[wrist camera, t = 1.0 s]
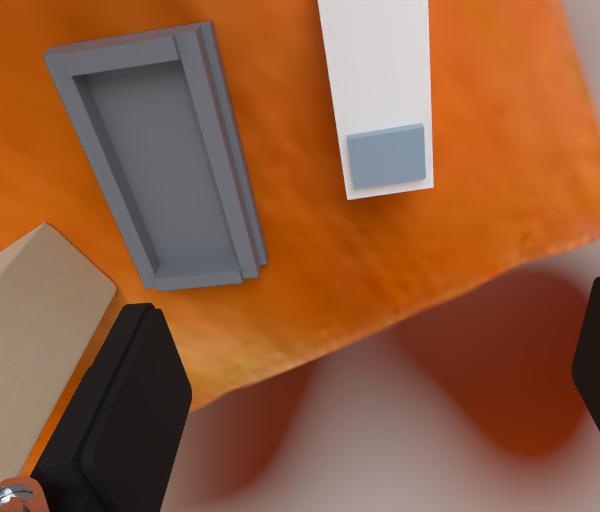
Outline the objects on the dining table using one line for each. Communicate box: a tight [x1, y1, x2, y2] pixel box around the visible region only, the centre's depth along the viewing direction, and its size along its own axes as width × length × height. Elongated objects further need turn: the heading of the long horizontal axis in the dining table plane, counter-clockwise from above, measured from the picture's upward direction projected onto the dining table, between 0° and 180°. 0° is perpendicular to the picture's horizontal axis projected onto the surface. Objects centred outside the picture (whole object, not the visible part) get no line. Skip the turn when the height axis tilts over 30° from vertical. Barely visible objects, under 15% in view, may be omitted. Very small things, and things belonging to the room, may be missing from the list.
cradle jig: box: [43, 20, 268, 292], centre depth 33 cm, size 17×10×3 cm, turn 9°
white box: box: [318, 0, 434, 200], centre depth 27 cm, size 12×5×7 cm, turn 11°
